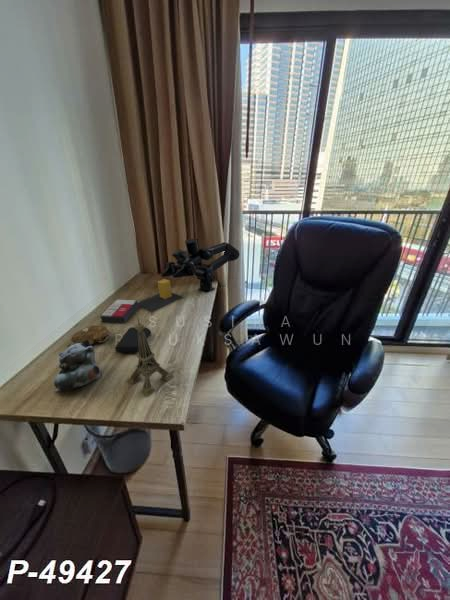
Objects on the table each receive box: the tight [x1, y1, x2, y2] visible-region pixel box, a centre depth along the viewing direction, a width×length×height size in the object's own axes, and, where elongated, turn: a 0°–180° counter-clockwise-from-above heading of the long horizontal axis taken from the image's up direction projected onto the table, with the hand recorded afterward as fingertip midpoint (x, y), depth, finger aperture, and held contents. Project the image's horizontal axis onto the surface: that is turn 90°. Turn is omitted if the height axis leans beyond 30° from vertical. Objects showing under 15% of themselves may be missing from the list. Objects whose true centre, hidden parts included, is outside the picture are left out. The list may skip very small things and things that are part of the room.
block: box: [157, 278, 173, 299], centre depth 132 cm, size 4×4×9 cm
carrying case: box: [114, 326, 152, 354], centre depth 99 cm, size 11×3×15 cm
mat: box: [137, 292, 184, 313], centre depth 130 cm, size 20×14×1 cm
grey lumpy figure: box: [53, 340, 103, 393], centre depth 80 cm, size 15×12×14 cm
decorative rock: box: [70, 324, 111, 345], centre depth 102 cm, size 11×4×15 cm
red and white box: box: [100, 299, 139, 324], centre depth 119 cm, size 11×4×15 cm
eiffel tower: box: [127, 315, 175, 397], centre depth 76 cm, size 11×11×25 cm
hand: (167, 276), depth 117 cm, fingers open, 9 cm apart
